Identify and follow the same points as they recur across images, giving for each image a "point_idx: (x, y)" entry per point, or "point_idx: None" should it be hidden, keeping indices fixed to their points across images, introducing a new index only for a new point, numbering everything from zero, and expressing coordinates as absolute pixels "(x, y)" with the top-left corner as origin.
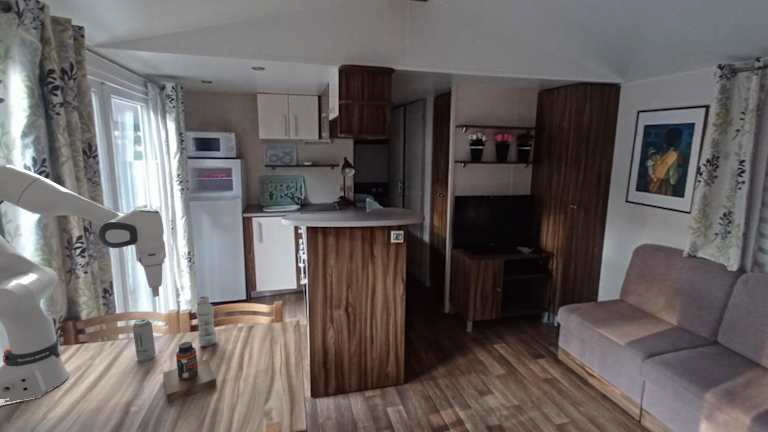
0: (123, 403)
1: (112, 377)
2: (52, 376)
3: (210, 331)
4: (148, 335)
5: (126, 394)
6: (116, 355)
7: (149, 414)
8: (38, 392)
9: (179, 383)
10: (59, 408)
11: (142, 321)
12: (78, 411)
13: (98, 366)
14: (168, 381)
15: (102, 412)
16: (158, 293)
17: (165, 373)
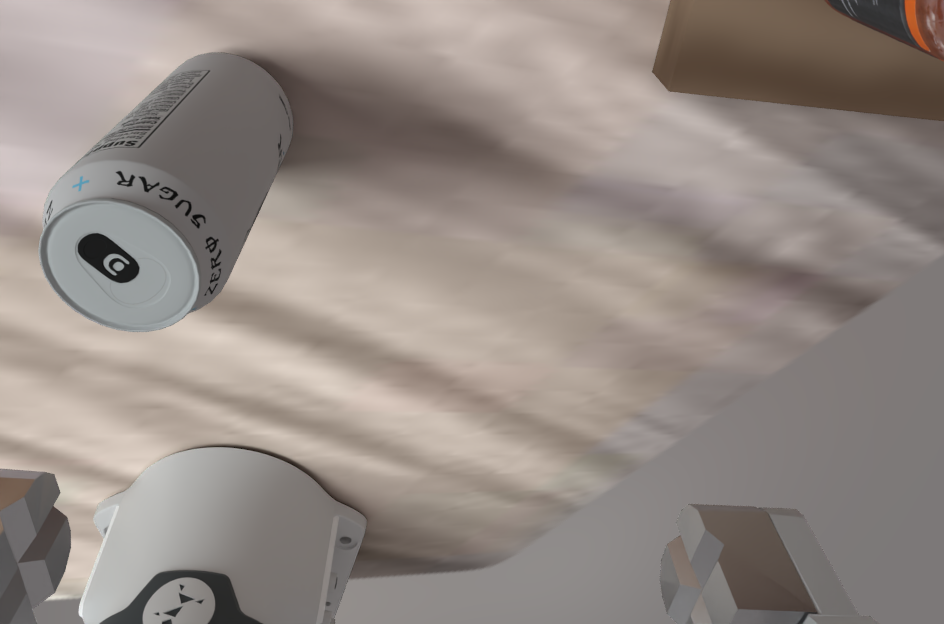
0: (700, 281)
1: (378, 299)
2: (297, 530)
3: None
4: (241, 169)
5: (625, 262)
6: None
7: (918, 198)
8: (341, 530)
9: None
10: (511, 466)
11: (133, 264)
12: (598, 418)
13: (188, 345)
14: (818, 83)
15: (693, 353)
16: (820, 561)
17: (696, 78)
